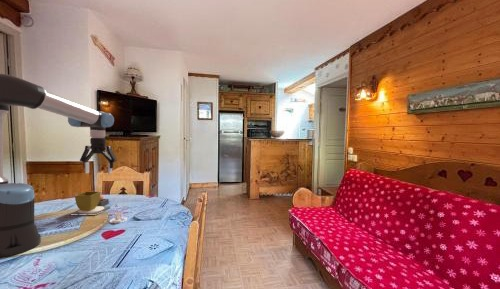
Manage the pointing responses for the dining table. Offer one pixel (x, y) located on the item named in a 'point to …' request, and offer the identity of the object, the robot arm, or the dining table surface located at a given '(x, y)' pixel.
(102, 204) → the button housing
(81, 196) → the flower pot
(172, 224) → the dining table surface
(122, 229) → the dining table surface
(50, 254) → the dining table surface
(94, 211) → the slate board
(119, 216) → the teacup and saucer
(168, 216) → the dining table surface
